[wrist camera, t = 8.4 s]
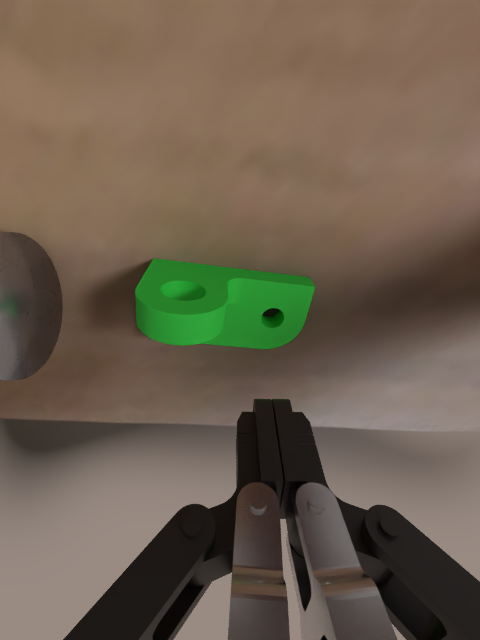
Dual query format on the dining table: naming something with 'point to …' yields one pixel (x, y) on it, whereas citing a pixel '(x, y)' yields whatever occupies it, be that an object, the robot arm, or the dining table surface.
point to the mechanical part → (220, 305)
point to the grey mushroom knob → (27, 306)
